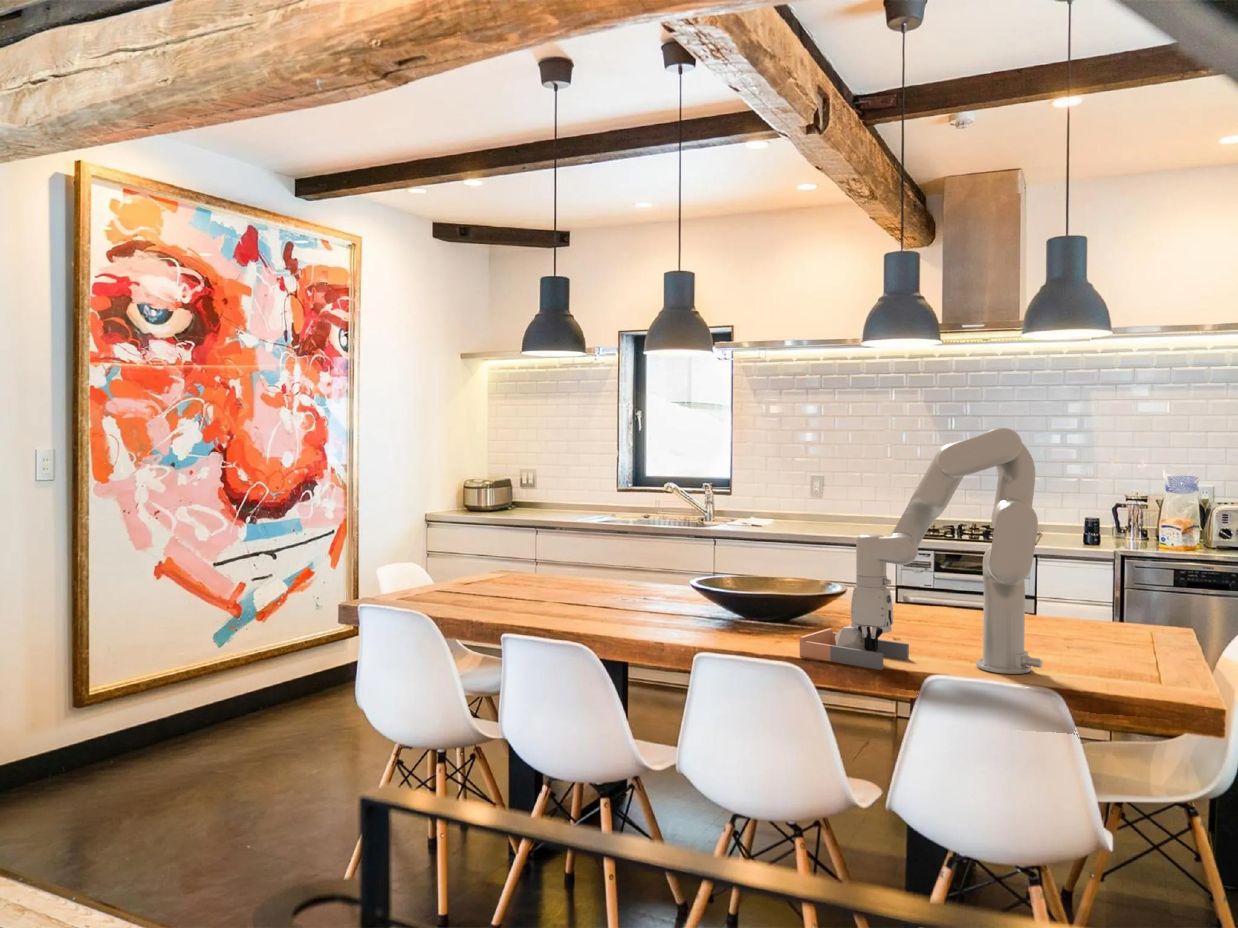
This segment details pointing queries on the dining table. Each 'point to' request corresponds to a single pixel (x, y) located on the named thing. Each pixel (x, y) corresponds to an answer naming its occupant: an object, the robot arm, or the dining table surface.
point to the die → (850, 638)
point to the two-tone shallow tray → (849, 650)
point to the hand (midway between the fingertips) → (871, 652)
